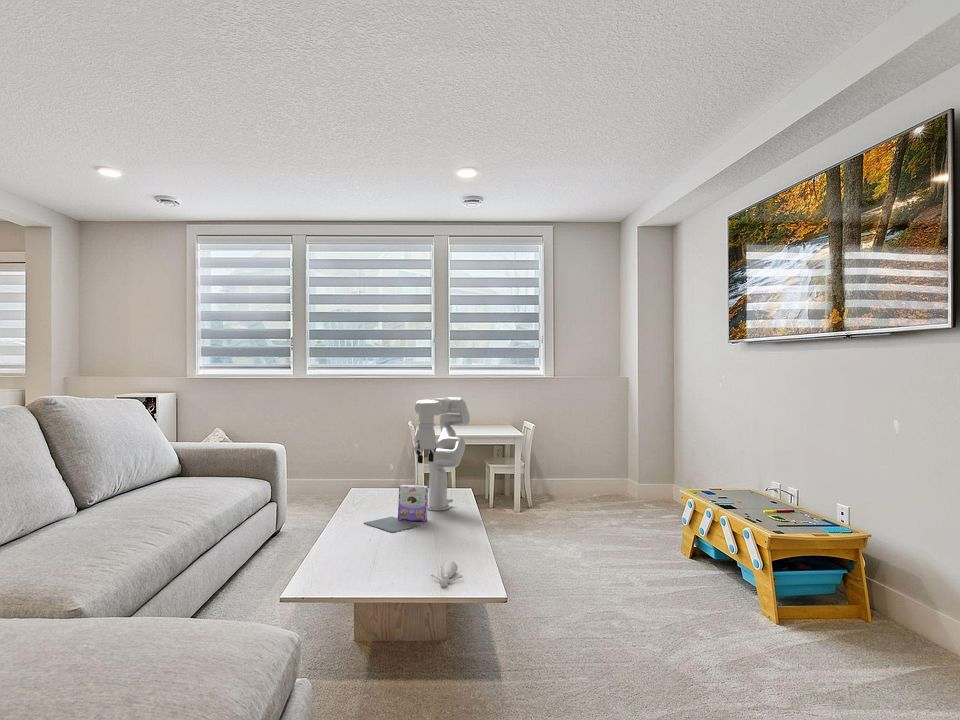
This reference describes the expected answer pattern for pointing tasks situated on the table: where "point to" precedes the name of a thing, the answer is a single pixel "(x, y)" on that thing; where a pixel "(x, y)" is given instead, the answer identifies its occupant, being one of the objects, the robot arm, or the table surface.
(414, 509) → the candy box
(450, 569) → the grey legged figure
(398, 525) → the mat
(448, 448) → the robot arm
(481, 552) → the table surface
